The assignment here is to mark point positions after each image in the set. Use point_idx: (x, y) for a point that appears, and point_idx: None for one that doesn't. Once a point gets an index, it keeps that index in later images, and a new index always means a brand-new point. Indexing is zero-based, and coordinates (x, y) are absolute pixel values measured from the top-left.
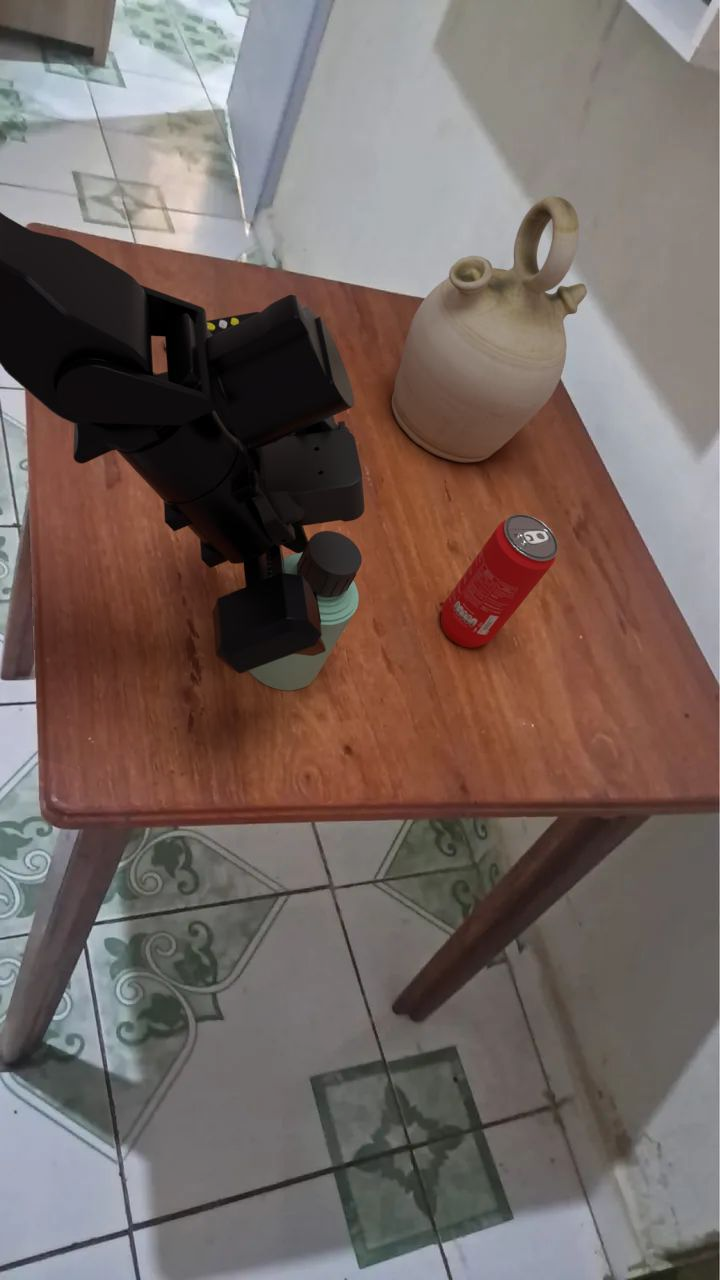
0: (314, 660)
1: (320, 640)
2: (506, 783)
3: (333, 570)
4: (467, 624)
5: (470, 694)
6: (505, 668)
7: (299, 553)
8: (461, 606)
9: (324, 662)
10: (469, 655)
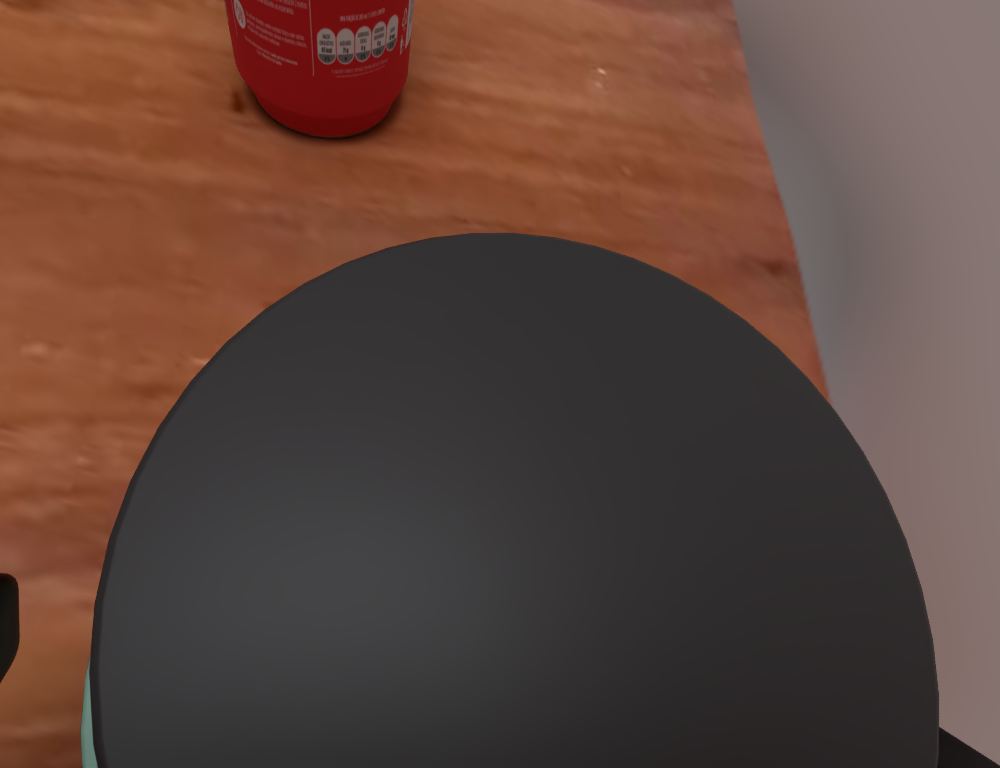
0: None
1: (947, 745)
2: (745, 178)
3: (893, 682)
4: (384, 54)
5: (528, 156)
6: (454, 55)
7: (84, 720)
8: (342, 31)
9: None
10: (414, 112)
